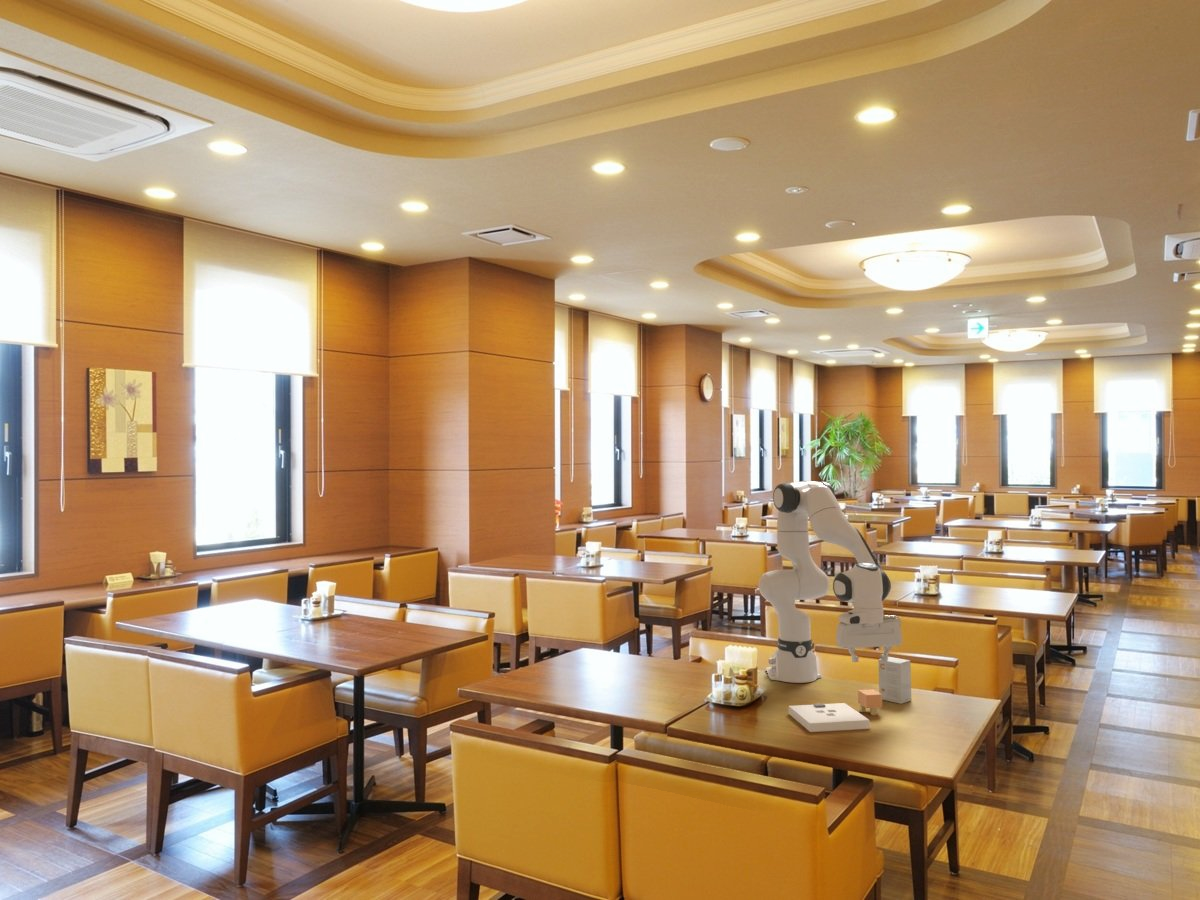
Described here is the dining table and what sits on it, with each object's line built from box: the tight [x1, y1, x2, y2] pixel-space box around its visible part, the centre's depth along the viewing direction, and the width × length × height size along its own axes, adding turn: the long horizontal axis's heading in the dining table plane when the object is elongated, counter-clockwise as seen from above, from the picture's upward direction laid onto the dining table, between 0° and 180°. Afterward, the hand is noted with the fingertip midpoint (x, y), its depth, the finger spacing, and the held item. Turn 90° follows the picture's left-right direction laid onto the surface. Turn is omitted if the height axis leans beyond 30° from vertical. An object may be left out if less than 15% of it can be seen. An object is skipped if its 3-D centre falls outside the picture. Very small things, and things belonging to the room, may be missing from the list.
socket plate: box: [788, 702, 871, 733], centre depth 259 cm, size 18×18×3 cm
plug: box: [857, 688, 883, 716], centre depth 267 cm, size 6×5×6 cm
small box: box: [878, 656, 912, 705], centre depth 280 cm, size 8×6×13 cm
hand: (869, 661), depth 266 cm, fingers open, 8 cm apart
